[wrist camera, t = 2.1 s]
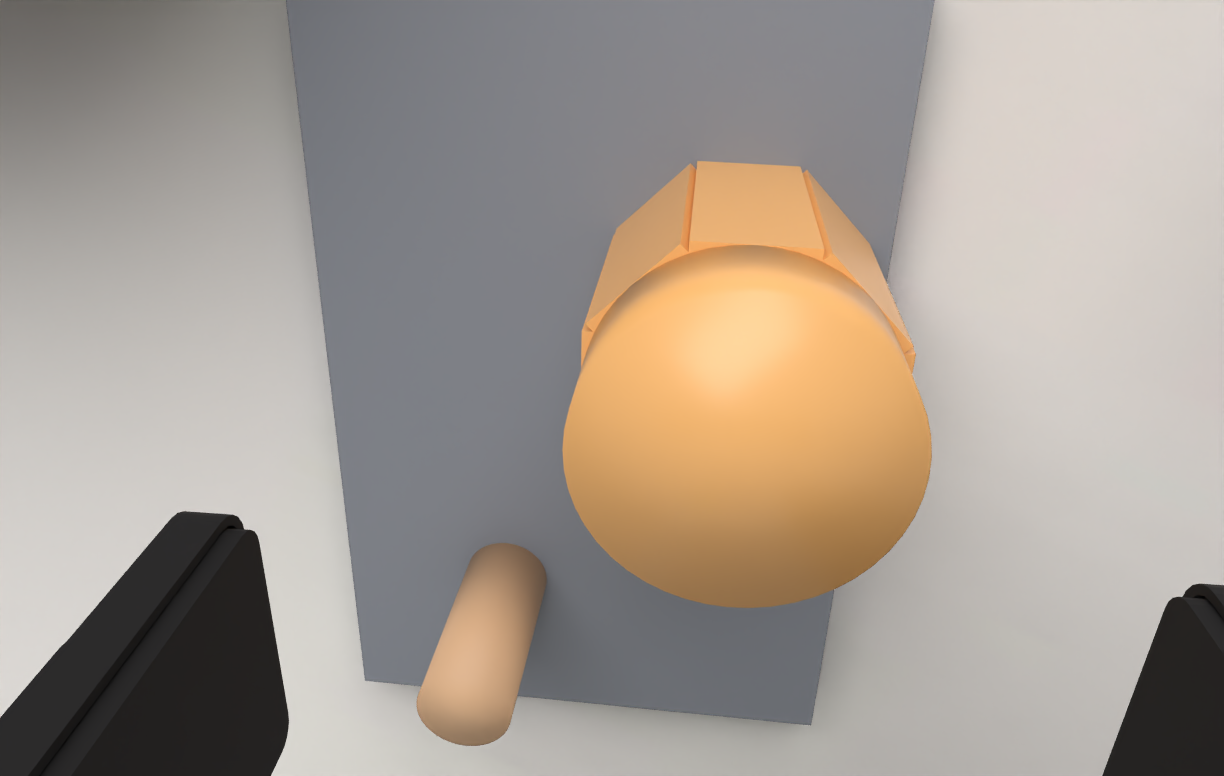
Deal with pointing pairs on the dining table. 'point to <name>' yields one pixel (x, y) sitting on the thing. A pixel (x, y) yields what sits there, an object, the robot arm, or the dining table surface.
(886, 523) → the orange dome-topped faceted piece
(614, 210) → the board
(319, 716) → the dining table surface
